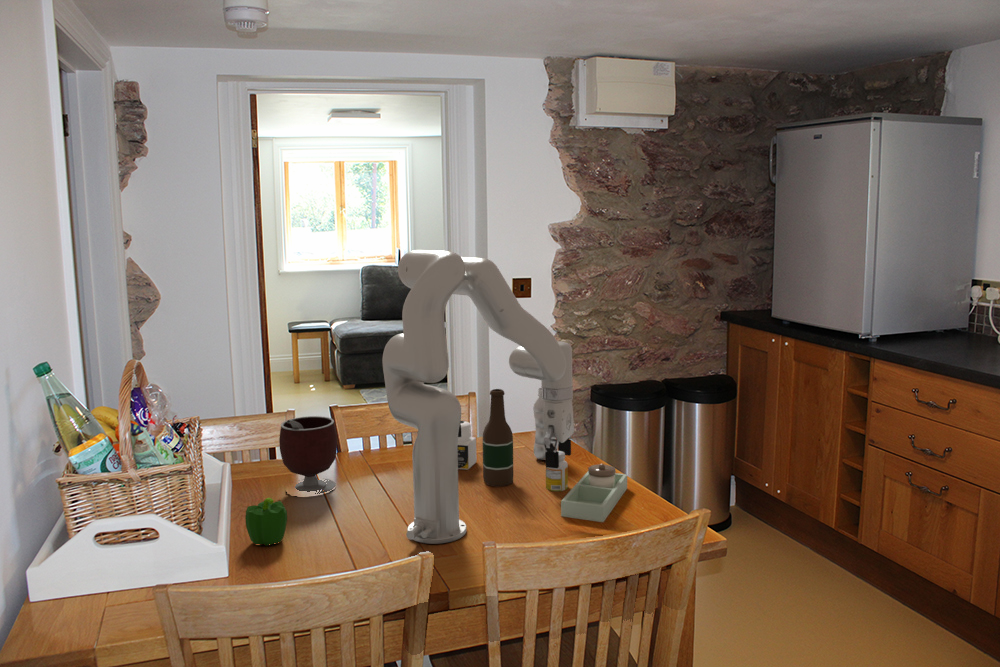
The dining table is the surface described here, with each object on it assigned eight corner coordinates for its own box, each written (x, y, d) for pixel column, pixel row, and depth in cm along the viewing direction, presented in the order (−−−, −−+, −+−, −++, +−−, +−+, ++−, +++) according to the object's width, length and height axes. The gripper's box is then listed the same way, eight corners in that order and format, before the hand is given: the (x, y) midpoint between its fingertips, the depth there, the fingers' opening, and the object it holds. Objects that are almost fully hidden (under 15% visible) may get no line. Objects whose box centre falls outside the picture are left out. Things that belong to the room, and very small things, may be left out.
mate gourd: (301, 477, 198) (297, 403, 195) (348, 482, 194) (345, 406, 191) (267, 498, 183) (262, 418, 180) (318, 503, 179) (314, 421, 176)
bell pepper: (245, 538, 160) (242, 493, 159) (285, 531, 163) (282, 487, 162) (249, 553, 152) (246, 506, 151) (290, 546, 156) (288, 499, 154)
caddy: (603, 526, 164) (603, 506, 163) (561, 520, 167) (561, 500, 167) (627, 492, 184) (627, 474, 184) (588, 487, 188) (589, 469, 187)
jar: (611, 500, 176) (611, 469, 175) (585, 496, 179) (585, 466, 178) (618, 491, 182) (618, 461, 181) (592, 487, 185) (592, 458, 184)
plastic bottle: (561, 457, 212) (561, 387, 209) (549, 464, 206) (549, 392, 203) (540, 454, 215) (540, 385, 212) (529, 460, 210) (528, 390, 207)
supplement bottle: (558, 485, 189) (558, 448, 188) (572, 492, 185) (572, 453, 183) (541, 490, 186) (541, 452, 185) (554, 496, 182) (554, 457, 181)
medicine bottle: (443, 468, 204) (442, 424, 202) (452, 460, 211) (451, 418, 209) (468, 470, 202) (467, 426, 200) (476, 462, 209) (476, 419, 207)
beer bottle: (514, 477, 196) (513, 386, 193) (512, 487, 188) (511, 393, 185) (485, 476, 197) (483, 386, 193) (481, 486, 189) (479, 393, 186)
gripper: (560, 402, 173) (562, 474, 176) (582, 385, 189) (583, 451, 191) (530, 400, 176) (532, 471, 179) (553, 384, 191) (555, 448, 194)
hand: (558, 460), depth 185 cm, fingers open, 9 cm apart
